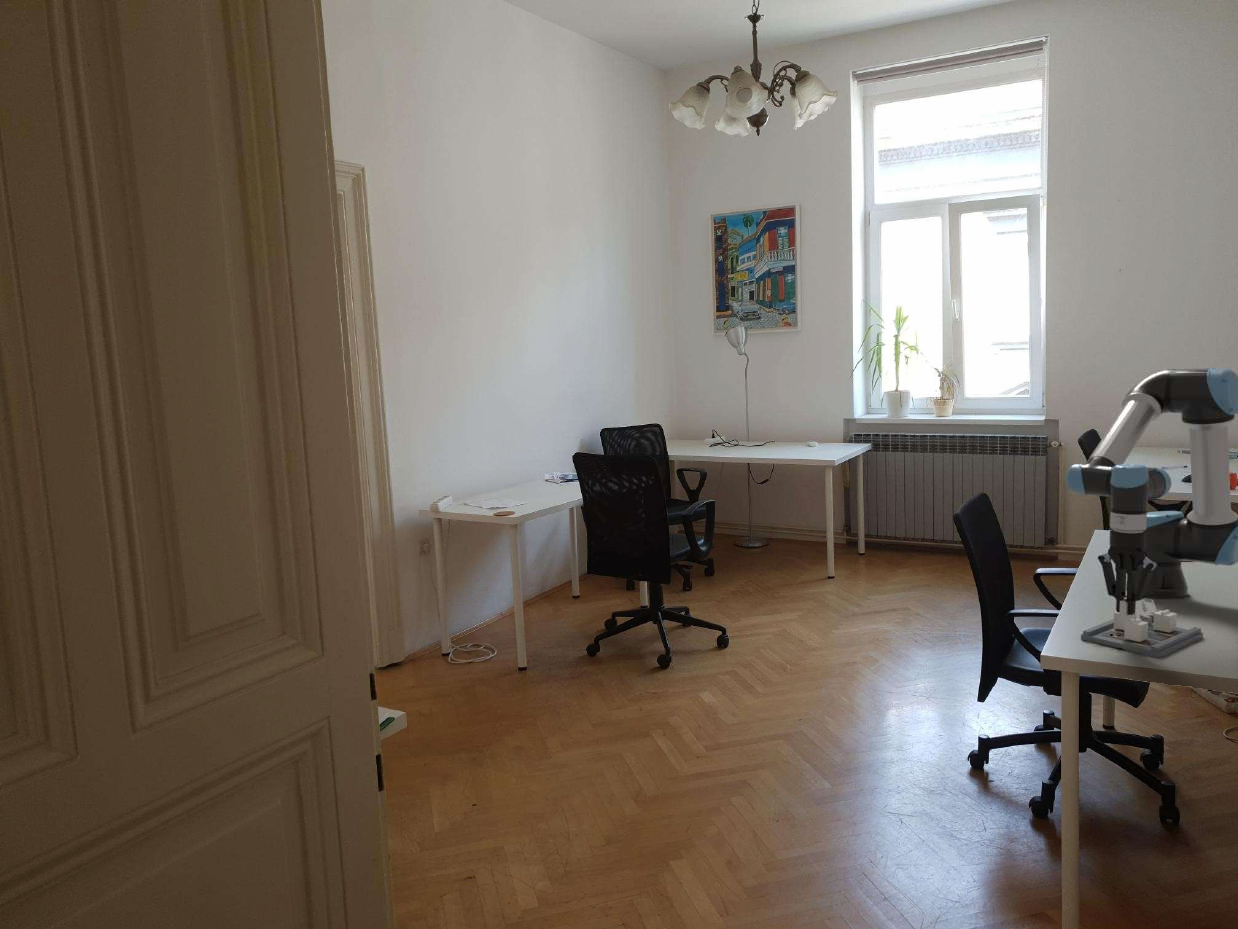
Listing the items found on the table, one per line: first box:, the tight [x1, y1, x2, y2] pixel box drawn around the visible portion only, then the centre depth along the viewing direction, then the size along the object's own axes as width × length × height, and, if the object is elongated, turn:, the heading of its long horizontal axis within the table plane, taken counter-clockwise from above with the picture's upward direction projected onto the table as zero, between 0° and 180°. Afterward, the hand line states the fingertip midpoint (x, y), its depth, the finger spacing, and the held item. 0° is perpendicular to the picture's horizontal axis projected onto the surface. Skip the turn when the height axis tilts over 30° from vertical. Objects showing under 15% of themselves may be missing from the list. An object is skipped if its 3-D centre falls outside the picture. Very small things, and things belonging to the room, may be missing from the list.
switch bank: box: [1080, 618, 1204, 659], centre depth 217 cm, size 22×18×2 cm
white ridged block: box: [1124, 618, 1148, 642], centre depth 212 cm, size 4×4×5 cm
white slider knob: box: [1113, 611, 1137, 631], centre depth 219 cm, size 4×4×5 cm
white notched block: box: [1153, 609, 1178, 632], centre depth 217 cm, size 4×4×5 cm
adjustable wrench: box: [1139, 598, 1158, 623], centre depth 233 cm, size 25×6×2 cm, turn 149°
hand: (1125, 626), depth 214 cm, fingers closed
